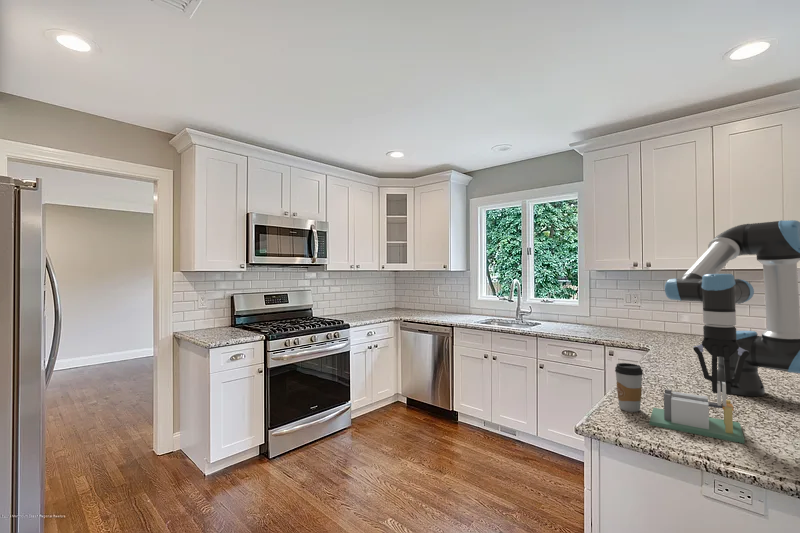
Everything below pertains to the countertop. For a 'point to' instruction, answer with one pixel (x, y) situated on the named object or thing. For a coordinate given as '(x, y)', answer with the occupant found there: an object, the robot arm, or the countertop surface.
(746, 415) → the countertop surface
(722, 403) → the strap
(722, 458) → the countertop surface
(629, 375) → the coffee cup
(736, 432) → the heatsink base
